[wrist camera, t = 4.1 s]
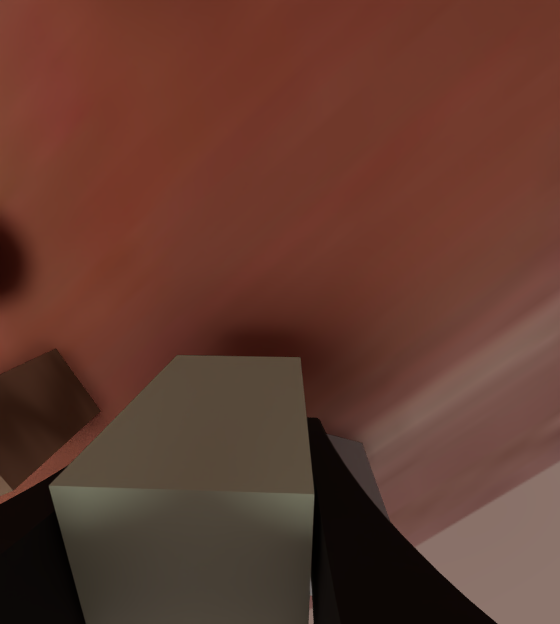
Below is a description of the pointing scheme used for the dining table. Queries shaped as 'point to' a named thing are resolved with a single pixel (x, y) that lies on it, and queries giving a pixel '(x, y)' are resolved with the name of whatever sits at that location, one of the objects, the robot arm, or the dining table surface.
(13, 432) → the walnut block
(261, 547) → the sage block
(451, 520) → the dining table surface
